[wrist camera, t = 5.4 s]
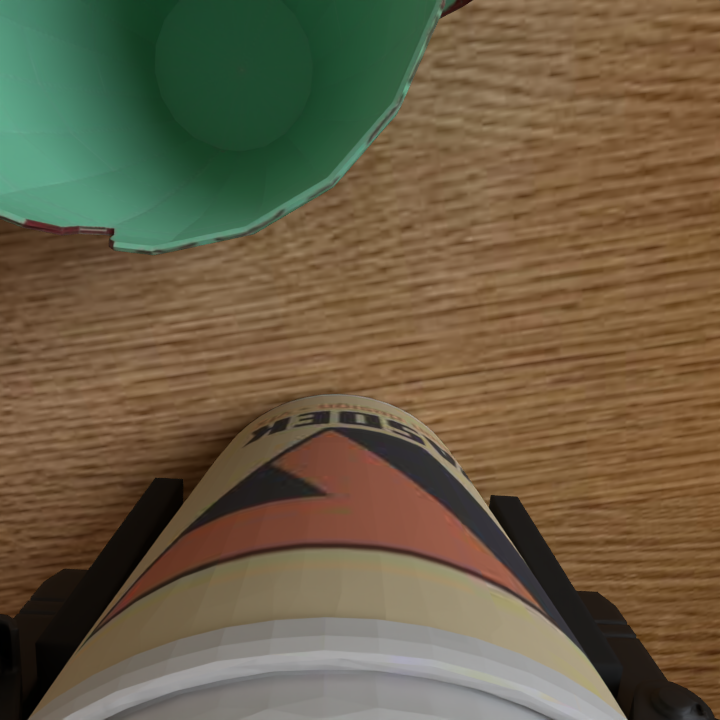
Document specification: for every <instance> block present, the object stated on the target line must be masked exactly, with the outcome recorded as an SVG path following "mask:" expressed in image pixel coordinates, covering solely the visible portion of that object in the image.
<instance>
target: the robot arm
mask: <svg viewBox="0 0 720 720" xmlns="http://www.w3.org/2000/svg"><path fill="white" fill-rule="evenodd" d="M182 505H183V479H170V478H155V479H154V480H153V482H152V483H151V484H150V486H149V487H148V489H147V490H146V491H145V493H144V494H143V495H142V497H141V498H140V500H139V501H138V502H137V504H136V505H135V506H134V508H133V509H132V511H131V512H130V513H129V515H128V516H127V517H126V519H125V520H124V522H123V523H122V524H121V526H120V527H119V528H118V530H117V531H116V533H115V534H114V535H113V537H112V538H111V539H110V541H109V542H108V544H107V545H106V546H105V548H104V549H103V550H102V552H101V553H100V555H99V556H98V557H97V559H96V560H95V561H94V563H93V564H92V566H91V567H90V568H89V570H78V569H63V570H62V571H60V572H58V573H57V574H55V575H54V576H52V577H51V578H49V579H47V580H46V581H44V582H43V583H42V585H41V586H40V587H39V588H38V589H37V591H36V592H35V593H34V594H33V595H32V597H31V599H30V601H27V603H26V604H25V605H24V606H23V608H22V609H21V610H20V613H19V614H17V615H16V616H15V617H14V618H11V617H10V616H8V615H3V614H0V720H28V719H29V717H30V716H31V714H32V713H33V711H34V710H35V708H36V707H37V706H38V704H39V703H40V701H41V700H42V698H43V697H44V695H45V694H46V692H47V691H48V690H49V688H50V687H51V685H52V684H53V682H54V681H55V680H56V678H57V677H58V675H59V674H60V672H61V671H62V670H63V668H64V667H65V665H66V664H67V662H68V661H69V660H70V658H71V657H72V655H73V654H74V652H75V651H76V650H77V648H78V647H79V645H80V644H81V642H82V641H83V640H84V638H85V637H86V635H87V634H88V633H89V631H90V630H91V629H92V627H93V626H94V625H95V623H96V622H97V620H98V619H99V618H100V616H101V615H102V614H103V612H104V611H105V610H106V608H107V607H108V605H109V604H110V603H111V601H112V600H113V599H114V597H115V596H116V594H117V593H118V592H119V590H120V589H121V588H122V586H123V585H124V584H125V582H126V581H127V579H128V578H129V577H130V575H131V574H132V573H133V571H134V570H135V569H136V567H137V566H138V564H139V563H140V562H141V560H142V559H143V558H144V556H145V555H146V554H147V552H148V551H149V549H150V548H151V547H152V545H153V544H154V543H155V541H156V540H157V538H158V537H159V536H160V534H161V533H162V532H163V530H164V529H165V528H166V526H167V525H168V524H169V522H170V521H171V520H172V518H173V517H174V516H175V514H176V513H177V512H178V510H179V509H180V508H181V506H182ZM489 509H490V511H491V512H492V514H493V515H494V516H495V518H496V519H497V521H498V522H499V524H500V525H501V527H502V528H503V530H504V531H505V533H506V534H507V536H508V537H509V539H510V540H511V542H512V543H513V545H514V546H515V548H516V549H517V551H518V552H519V554H520V555H521V557H522V558H523V560H524V561H525V563H526V564H527V566H528V567H529V569H530V570H531V572H532V573H533V575H534V576H535V578H536V579H537V581H538V582H539V584H540V585H541V587H542V588H543V590H544V591H545V593H546V594H547V596H548V597H549V599H550V600H551V602H552V603H553V605H554V606H555V608H556V609H557V611H558V612H559V614H560V615H561V617H562V618H563V620H564V621H565V623H566V624H567V626H568V627H569V629H570V630H571V632H572V633H573V635H574V636H575V638H576V639H577V641H578V642H579V644H580V645H581V647H582V648H583V650H584V652H585V653H586V655H587V656H588V658H589V659H590V661H591V662H592V664H593V666H594V667H595V669H596V670H597V672H598V673H599V675H600V677H601V678H602V680H603V681H604V683H605V684H606V686H607V687H608V689H609V691H610V692H611V694H612V695H613V697H614V699H615V700H616V702H617V704H618V705H619V707H620V708H621V710H622V712H623V713H624V715H625V716H626V718H627V720H719V719H716V718H714V715H713V713H712V711H711V709H710V708H709V707H708V706H707V705H706V703H705V702H704V701H703V700H702V699H701V698H700V697H698V696H697V695H695V694H694V693H693V692H691V691H690V690H688V689H687V688H684V687H682V686H680V685H678V684H675V683H673V682H670V681H668V680H667V679H666V677H665V676H664V674H663V673H662V672H661V670H660V669H659V667H658V666H657V664H656V663H655V662H654V660H653V659H652V657H651V656H650V654H649V653H648V652H647V650H646V649H645V647H644V646H643V644H642V643H641V642H640V640H639V639H637V638H636V634H635V633H634V632H633V630H632V629H631V627H630V626H629V625H627V622H626V620H625V619H624V617H623V616H622V614H621V613H620V612H619V610H618V609H617V607H616V606H615V605H614V604H612V603H611V602H610V601H608V600H607V599H606V598H605V597H603V596H602V595H601V594H599V593H598V592H590V591H576V590H575V589H574V587H573V585H572V584H571V582H570V581H569V579H568V577H567V576H566V574H565V573H564V571H563V569H562V568H561V566H560V564H559V563H558V561H557V560H556V558H555V556H554V555H553V553H552V552H551V550H550V548H549V547H548V545H547V544H546V542H545V540H544V539H543V537H542V536H541V534H540V532H539V531H538V529H537V528H536V526H535V524H534V523H533V521H532V519H531V518H530V516H529V515H528V513H527V511H526V510H525V508H524V507H523V505H522V503H521V502H520V500H519V499H518V497H514V496H495V495H491V497H490V505H489Z"/></svg>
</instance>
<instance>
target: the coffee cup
mask: <svg viewBox="0 0 720 720" xmlns="http://www.w3.org/2000/svg"><path fill="white" fill-rule="evenodd" d="M28 720H627V718H626V716H625V715H624V713H623V712H622V710H621V708H620V707H619V705H618V704H617V702H616V700H615V699H614V697H613V695H612V694H611V692H610V691H609V689H608V687H607V686H606V684H605V683H604V681H603V680H602V678H601V677H600V675H599V673H598V672H597V670H596V669H595V667H594V666H593V664H592V662H591V661H590V659H589V658H588V656H587V655H586V653H585V652H584V650H583V648H582V647H581V645H580V644H579V642H578V641H577V639H576V638H575V636H574V635H573V633H572V632H571V630H570V629H569V627H568V626H567V624H566V623H565V621H564V620H563V618H562V617H561V615H560V614H559V612H558V611H557V609H556V608H555V606H554V605H553V603H552V602H551V600H550V599H549V597H548V596H547V594H546V593H545V591H544V590H543V588H542V587H541V585H540V584H539V582H538V581H537V579H536V578H535V576H534V575H533V573H532V572H531V570H530V569H529V567H528V566H527V564H526V563H525V561H524V560H523V558H522V557H521V555H520V554H519V552H518V551H517V549H516V548H515V546H514V545H513V543H512V542H511V540H510V539H509V537H508V536H507V534H506V533H505V531H504V530H503V528H502V527H501V525H500V524H499V522H498V521H497V519H496V518H495V516H494V515H493V514H492V512H491V511H490V509H489V508H488V506H487V505H486V503H485V502H484V500H483V499H482V497H481V496H480V494H479V493H478V491H477V490H476V488H475V487H474V485H473V484H472V482H471V481H470V480H469V478H468V477H467V475H466V474H465V472H464V471H463V469H462V468H461V466H460V465H459V463H458V462H457V461H456V459H455V458H454V457H453V455H452V454H451V453H450V451H449V450H448V449H447V448H446V446H445V445H444V444H443V442H442V441H441V440H440V439H439V438H438V437H437V436H436V435H435V434H434V433H433V432H432V431H431V430H430V429H429V428H428V427H426V426H425V425H424V424H423V423H422V422H420V421H419V420H417V419H416V418H415V417H413V416H412V415H410V414H408V413H406V412H405V411H403V410H401V409H399V408H397V407H394V406H392V405H390V404H388V403H385V402H381V401H378V400H375V399H371V398H367V397H361V396H356V395H344V394H328V395H317V396H311V397H305V398H302V399H298V400H294V401H291V402H288V403H286V404H283V405H281V406H278V407H276V408H274V409H272V410H270V411H269V412H267V413H265V414H263V415H262V416H260V417H259V418H257V419H256V420H254V421H253V422H252V423H250V424H249V425H248V426H247V427H245V428H244V429H243V430H242V431H241V432H240V433H239V434H238V435H237V436H236V437H235V438H234V439H233V440H232V442H231V443H230V444H229V445H228V446H227V447H226V449H225V450H224V451H223V452H222V453H221V454H220V456H219V457H218V458H217V459H216V461H215V462H214V463H213V465H212V466H211V467H210V469H209V470H208V471H207V473H206V474H205V475H204V477H203V478H202V479H201V481H200V482H199V483H198V485H197V486H196V487H195V489H194V490H193V491H192V493H191V494H190V495H189V497H188V498H187V499H186V501H185V502H184V504H183V505H182V506H181V508H180V509H179V510H178V512H177V513H176V514H175V516H174V517H173V518H172V520H171V521H170V522H169V524H168V525H167V526H166V528H165V529H164V530H163V532H162V533H161V534H160V536H159V537H158V538H157V540H156V541H155V543H154V544H153V545H152V547H151V548H150V549H149V551H148V552H147V554H146V555H145V556H144V558H143V559H142V560H141V562H140V563H139V564H138V566H137V567H136V569H135V570H134V571H133V573H132V574H131V575H130V577H129V578H128V579H127V581H126V582H125V584H124V585H123V586H122V588H121V589H120V590H119V592H118V593H117V594H116V596H115V597H114V599H113V600H112V601H111V603H110V604H109V605H108V607H107V608H106V610H105V611H104V612H103V614H102V615H101V616H100V618H99V619H98V620H97V622H96V623H95V625H94V626H93V627H92V629H91V630H90V631H89V633H88V634H87V635H86V637H85V638H84V640H83V641H82V642H81V644H80V645H79V647H78V648H77V650H76V651H75V652H74V654H73V655H72V657H71V658H70V660H69V661H68V662H67V664H66V665H65V667H64V668H63V670H62V671H61V672H60V674H59V675H58V677H57V678H56V680H55V681H54V682H53V684H52V685H51V687H50V688H49V690H48V691H47V692H46V694H45V695H44V697H43V698H42V700H41V701H40V703H39V704H38V706H37V707H36V708H35V710H34V711H33V713H32V714H31V716H30V717H29V719H28Z"/></svg>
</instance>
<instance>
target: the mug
mask: <svg viewBox="0 0 720 720" xmlns="http://www.w3.org/2000/svg"><path fill="white" fill-rule="evenodd" d="M471 1H472V0H0V219H2V220H5V221H7V222H10V223H12V224H15V225H17V226H20V227H23V228H28V229H33V230H38V231H43V232H48V233H53V234H58V235H71V234H96V235H112V237H111V238H110V239H109V247H110V248H111V249H113V250H114V251H122V252H131V253H140V254H149V255H157V254H162V253H167V252H172V251H177V250H181V249H186V248H191V247H196V246H200V245H205V244H210V243H215V242H219V241H224V240H229V239H234V238H238V237H243V236H248V235H252V234H255V233H257V232H259V231H260V230H262V229H264V228H265V227H267V226H269V225H270V224H272V223H274V222H276V221H277V220H279V219H281V218H282V217H284V216H286V215H287V214H289V213H291V212H292V211H294V210H296V209H297V208H299V207H301V206H303V205H304V204H306V203H308V202H309V201H311V200H313V199H314V198H316V197H318V196H319V195H321V194H323V193H324V192H326V191H328V190H330V189H331V188H333V187H334V186H335V185H336V184H337V182H338V181H339V180H340V179H341V178H342V177H343V176H344V174H345V173H346V172H347V171H348V170H349V169H350V168H351V166H352V165H353V164H354V163H355V162H356V161H357V160H358V158H359V157H360V156H361V155H362V154H363V153H364V151H365V150H366V149H367V148H368V147H369V146H370V145H371V143H372V142H373V141H374V140H375V139H376V138H377V137H378V135H379V134H380V133H381V132H382V131H383V130H384V128H385V127H386V126H387V125H388V124H389V123H390V122H391V120H392V119H393V118H394V117H395V116H396V115H397V113H398V111H399V109H400V107H401V105H402V102H403V100H404V98H405V96H406V93H407V91H408V89H409V86H410V84H411V82H412V80H413V77H414V75H415V73H416V70H417V68H418V66H419V64H420V61H421V59H422V57H423V55H424V52H425V50H426V48H427V45H428V43H429V41H430V39H431V36H432V34H433V32H434V29H435V27H436V25H437V23H438V20H439V19H440V18H442V17H444V16H446V15H448V14H450V13H452V12H454V11H456V10H457V9H459V8H461V7H463V6H465V5H466V4H468V3H469V2H471Z"/></svg>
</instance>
